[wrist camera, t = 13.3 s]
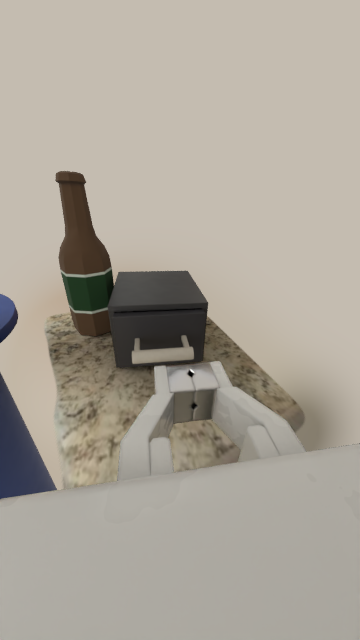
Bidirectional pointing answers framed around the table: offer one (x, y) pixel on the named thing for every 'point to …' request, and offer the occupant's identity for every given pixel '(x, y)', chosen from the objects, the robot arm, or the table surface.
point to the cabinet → (154, 295)
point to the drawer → (158, 336)
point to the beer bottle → (83, 260)
